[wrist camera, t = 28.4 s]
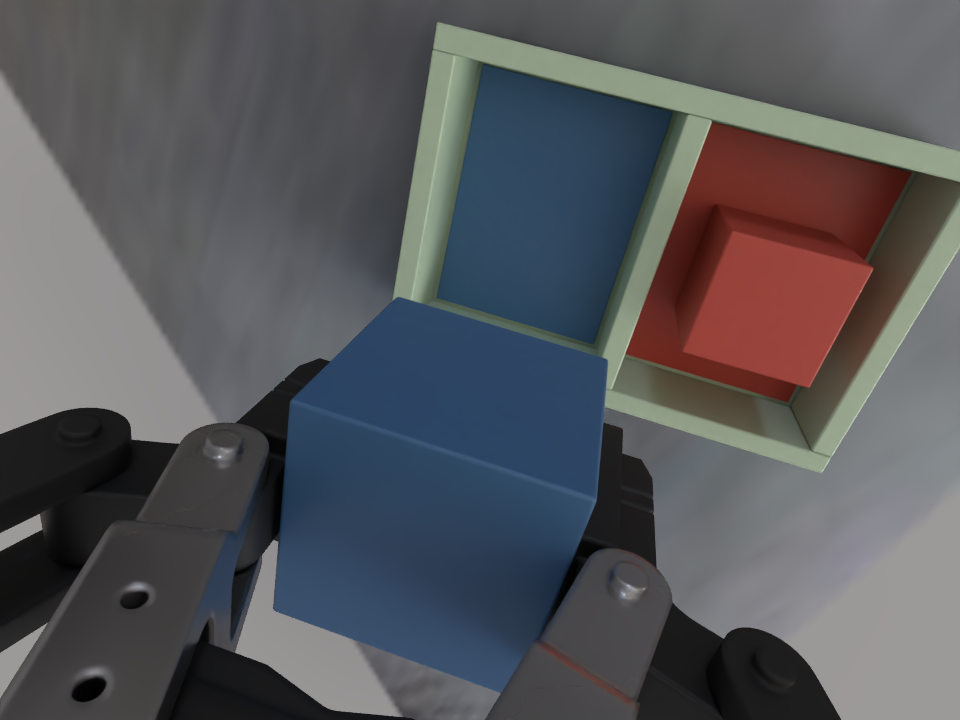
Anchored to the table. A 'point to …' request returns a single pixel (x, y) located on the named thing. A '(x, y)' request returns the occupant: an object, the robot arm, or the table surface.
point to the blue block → (439, 489)
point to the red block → (767, 295)
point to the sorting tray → (660, 227)
